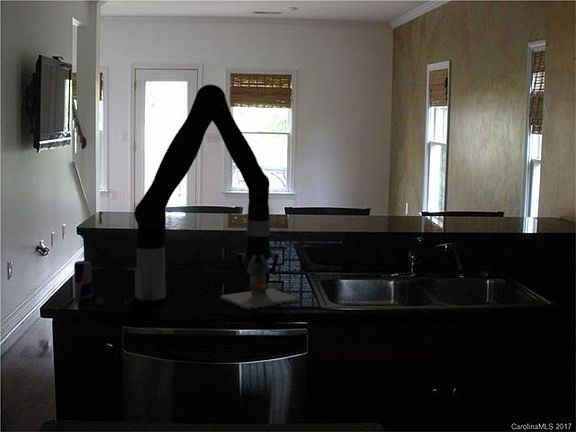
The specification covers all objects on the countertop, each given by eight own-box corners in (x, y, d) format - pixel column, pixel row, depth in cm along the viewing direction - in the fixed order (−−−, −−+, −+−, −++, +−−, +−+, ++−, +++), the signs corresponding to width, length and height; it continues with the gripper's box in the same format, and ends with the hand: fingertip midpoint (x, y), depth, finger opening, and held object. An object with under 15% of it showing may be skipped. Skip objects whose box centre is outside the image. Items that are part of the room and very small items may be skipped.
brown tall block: (251, 292, 272) (250, 275, 264) (251, 280, 275) (250, 262, 267) (265, 293, 272) (265, 275, 264) (266, 280, 275) (265, 262, 267)
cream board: (246, 309, 255) (246, 306, 254) (220, 298, 269) (220, 295, 268) (299, 301, 266) (299, 298, 265) (271, 291, 280) (271, 288, 279)
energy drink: (75, 300, 265) (74, 264, 263) (75, 296, 270) (74, 261, 268) (92, 299, 266) (91, 263, 265) (91, 295, 271) (90, 260, 270)
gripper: (236, 235, 263) (236, 286, 265) (280, 235, 263) (279, 286, 265) (237, 231, 270) (237, 281, 273) (280, 231, 270) (279, 281, 273)
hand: (258, 283), depth 269 cm, fingers closed on brown tall block, 5 cm apart
